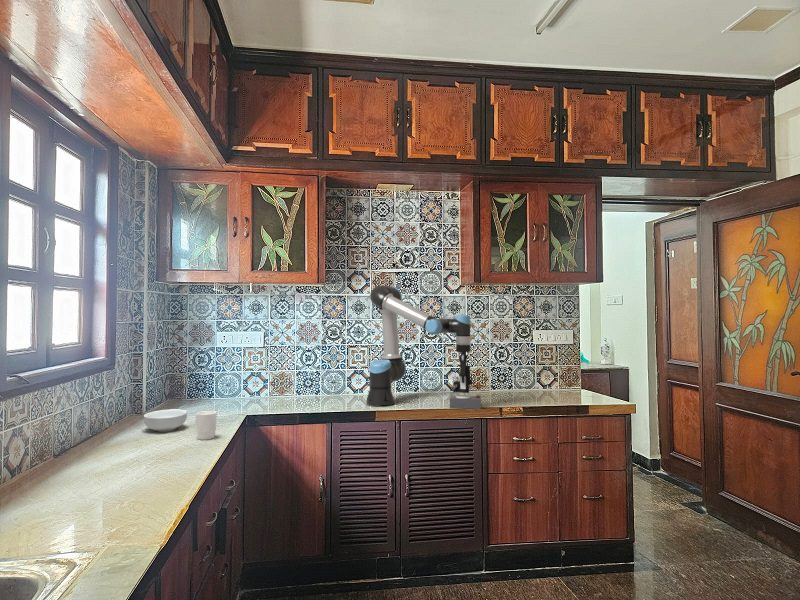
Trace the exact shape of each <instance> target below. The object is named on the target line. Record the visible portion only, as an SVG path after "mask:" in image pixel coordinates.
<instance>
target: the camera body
mask: <svg viewBox="0 0 800 600" xmlns="http://www.w3.org/2000/svg"><path fill="white" fill-rule="evenodd" d="M449 409H465V410H466V409H469V410H482V396H481V395H479V394H478V395H477V394H476V395H475V396H474V395H467V394H464V395H463V394H458V395H450V397H449Z"/></svg>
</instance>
